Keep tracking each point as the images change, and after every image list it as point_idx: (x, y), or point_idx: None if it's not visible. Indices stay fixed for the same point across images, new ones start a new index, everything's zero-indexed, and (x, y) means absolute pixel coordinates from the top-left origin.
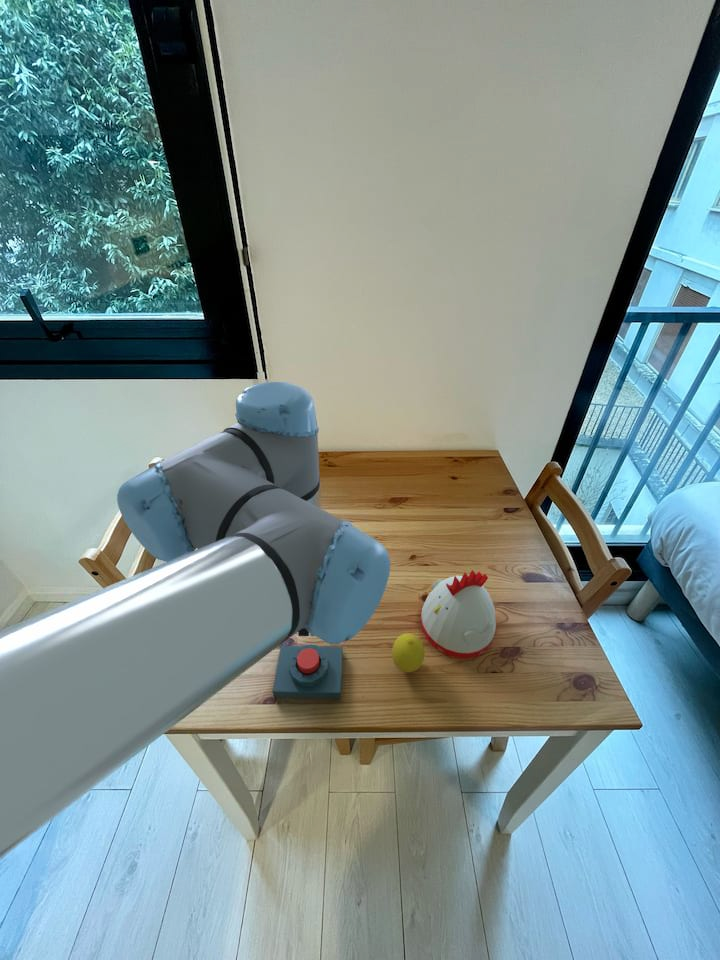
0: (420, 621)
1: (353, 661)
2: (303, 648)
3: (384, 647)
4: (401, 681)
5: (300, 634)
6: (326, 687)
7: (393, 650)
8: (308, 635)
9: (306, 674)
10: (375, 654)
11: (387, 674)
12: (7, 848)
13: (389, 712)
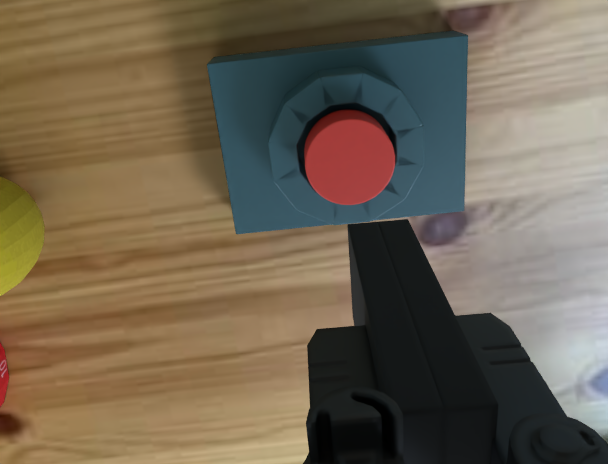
0: (3, 351)
1: (197, 194)
2: (377, 205)
3: (102, 253)
4: (15, 146)
5: (398, 227)
6: (263, 77)
7: (15, 238)
8: (348, 228)
9: None
10: (127, 227)
11: (69, 164)
12: None
13: (28, 32)
